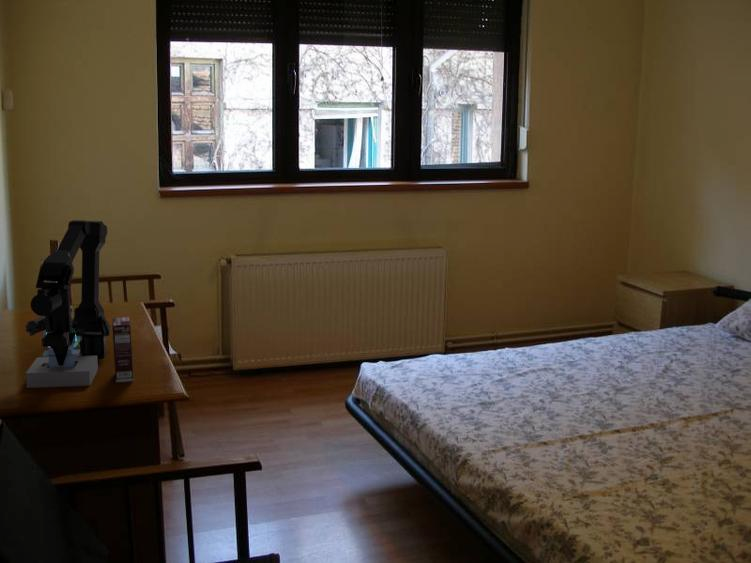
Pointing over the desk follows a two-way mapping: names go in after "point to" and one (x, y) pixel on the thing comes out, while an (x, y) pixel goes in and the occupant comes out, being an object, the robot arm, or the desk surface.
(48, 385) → the chassis
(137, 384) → the desk surface
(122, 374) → the supplement box
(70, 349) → the block
